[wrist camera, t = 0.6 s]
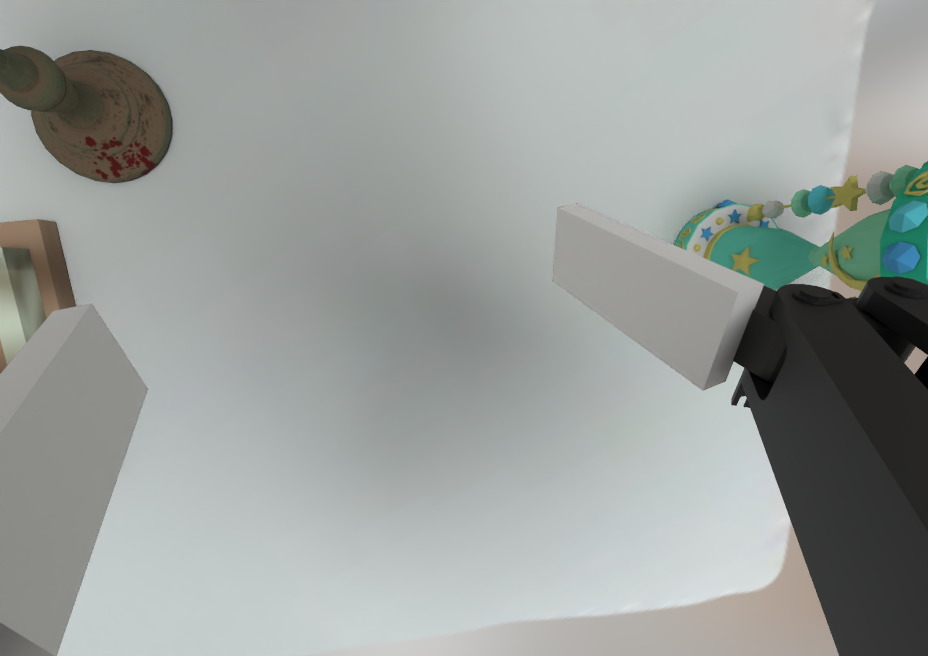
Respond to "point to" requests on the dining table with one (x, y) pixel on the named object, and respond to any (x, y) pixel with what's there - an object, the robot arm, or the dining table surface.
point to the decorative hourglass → (847, 255)
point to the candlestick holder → (90, 110)
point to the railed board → (29, 282)
